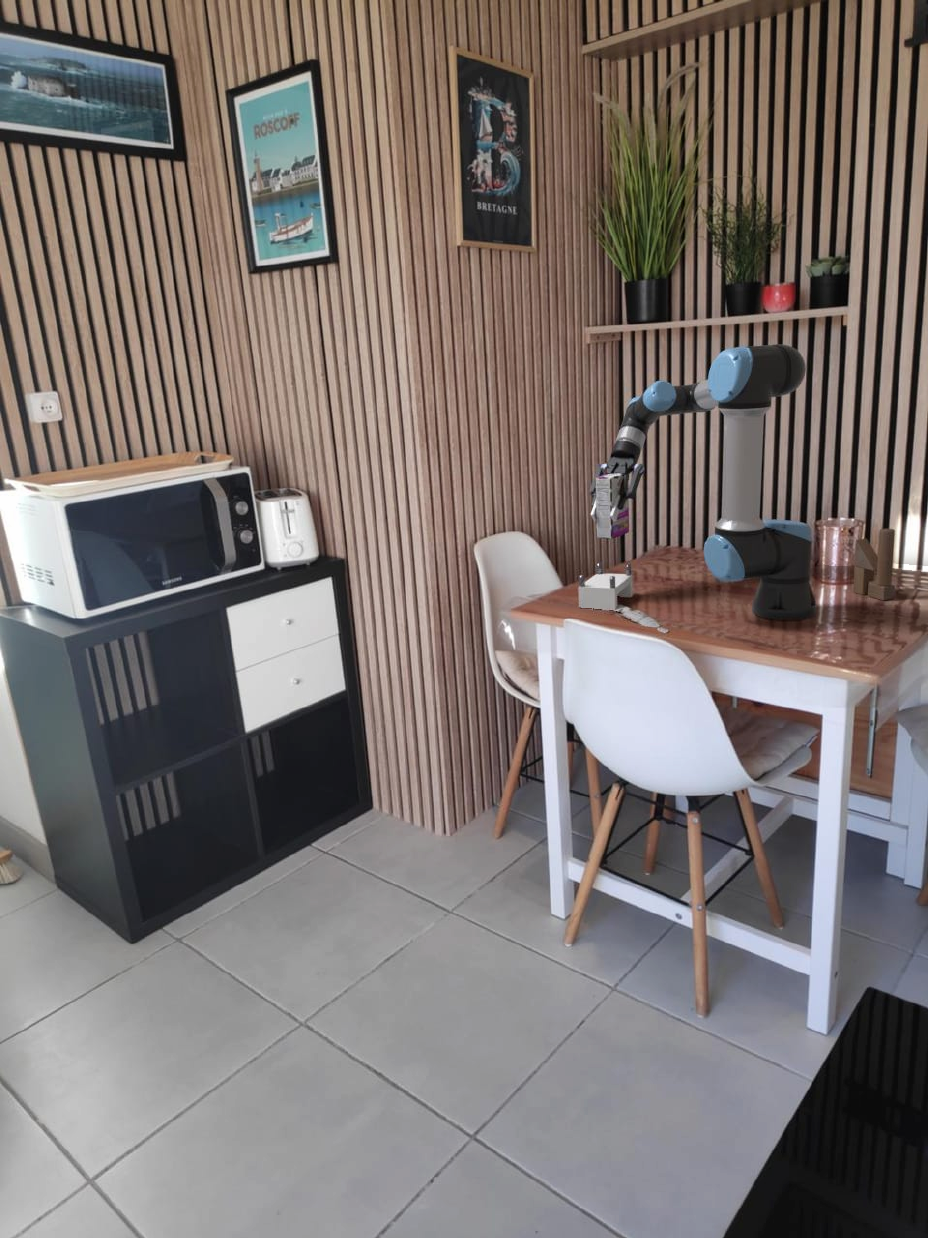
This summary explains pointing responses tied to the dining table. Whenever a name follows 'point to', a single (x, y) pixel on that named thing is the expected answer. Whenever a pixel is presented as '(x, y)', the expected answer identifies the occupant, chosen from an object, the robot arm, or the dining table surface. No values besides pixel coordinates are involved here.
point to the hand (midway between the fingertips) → (603, 517)
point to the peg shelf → (604, 589)
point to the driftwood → (639, 617)
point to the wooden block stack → (875, 567)
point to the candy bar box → (610, 507)
